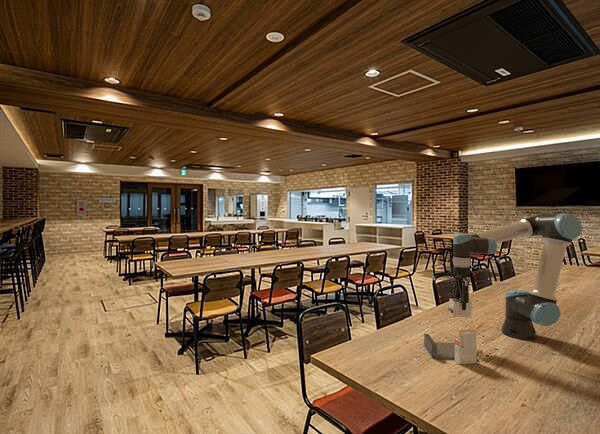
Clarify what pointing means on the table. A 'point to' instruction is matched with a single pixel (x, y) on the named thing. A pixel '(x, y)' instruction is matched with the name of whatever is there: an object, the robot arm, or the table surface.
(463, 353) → the ink box
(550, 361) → the table surface
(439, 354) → the grey bookend
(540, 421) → the table surface
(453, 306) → the block
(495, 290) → the table surface
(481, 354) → the brass key
